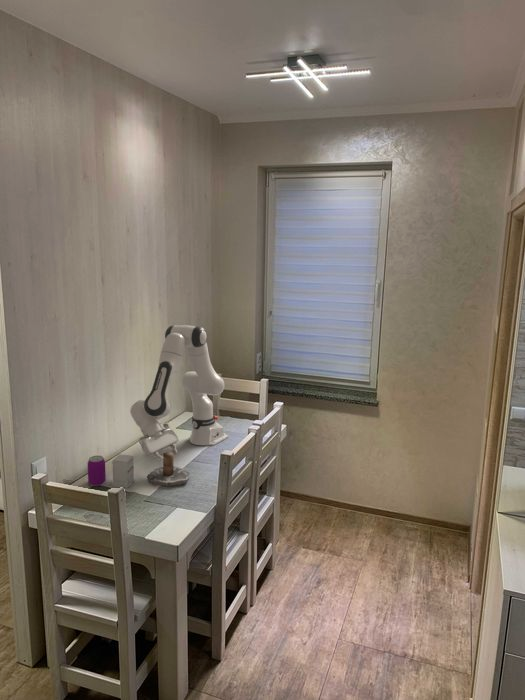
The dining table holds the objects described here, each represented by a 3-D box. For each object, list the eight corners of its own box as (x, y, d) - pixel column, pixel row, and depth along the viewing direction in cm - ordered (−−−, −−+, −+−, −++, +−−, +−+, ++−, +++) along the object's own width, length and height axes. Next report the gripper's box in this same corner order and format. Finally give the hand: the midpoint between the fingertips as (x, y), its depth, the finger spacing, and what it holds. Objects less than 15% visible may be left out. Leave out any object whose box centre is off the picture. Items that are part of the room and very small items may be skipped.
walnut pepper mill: (168, 470, 242) (168, 451, 240) (175, 473, 239) (175, 453, 237) (160, 474, 238) (160, 454, 236) (167, 477, 235) (167, 457, 233)
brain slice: (188, 471, 249) (188, 465, 249) (190, 487, 233) (190, 481, 232) (147, 472, 246) (147, 467, 245) (146, 489, 229) (145, 483, 229)
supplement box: (127, 488, 229) (126, 462, 227) (112, 486, 231) (111, 460, 228) (134, 480, 236) (134, 455, 234) (119, 478, 238) (119, 453, 235)
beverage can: (109, 481, 235) (108, 456, 233) (97, 488, 228) (96, 463, 226) (96, 477, 238) (95, 453, 236) (84, 484, 231) (83, 459, 229)
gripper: (140, 435, 229) (157, 461, 226) (171, 422, 246) (187, 446, 243) (133, 442, 232) (150, 467, 229) (164, 429, 249) (179, 452, 247)
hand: (169, 456), depth 237 cm, fingers open, 8 cm apart
